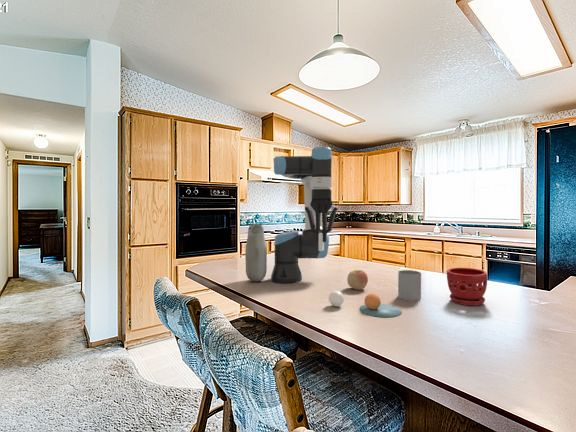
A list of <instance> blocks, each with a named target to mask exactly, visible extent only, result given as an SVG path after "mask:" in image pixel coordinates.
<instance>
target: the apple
mask: <svg viewBox="0 0 576 432" xmlns="http://www.w3.org/2000/svg"><path fill="white" fill-rule="evenodd" d="M346 279H347V284H348V286H349V287H350V288H351V289H354V290H357V291H361V290H364V289H365V288H366V287H367V284H368V281H369V277H368V274H367V273H366V272H365V271H364V270H361V269H355V270H351V271H349V273H348V274H347V278H346Z"/></svg>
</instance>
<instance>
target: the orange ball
mask: <svg viewBox="0 0 576 432" xmlns="http://www.w3.org/2000/svg"><path fill="white" fill-rule="evenodd" d="M363 302H364V305H366V307H367V308H369V309H371V310H375V309H377V308H379V306H380V304H382V303H381V298H380V297H379V295H378V294H375V293H369V294H367V295H366V296H365V298H364V301H363Z"/></svg>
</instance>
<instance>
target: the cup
mask: <svg viewBox="0 0 576 432" xmlns="http://www.w3.org/2000/svg"><path fill="white" fill-rule="evenodd" d="M397 275H398V276H397V277H398V278H397V280H398V281H397V282H398V283H397V287H398V288H397V292H398V293H397V297H398V298H399V299H401V300H406V301H412V302H413V301H416V302H417V301H420V300H421V299H422V273H421V271H417V270H408V269H406V270H405V269H401V270H399V271H398V272H397Z"/></svg>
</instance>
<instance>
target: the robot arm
mask: <svg viewBox="0 0 576 432" xmlns="http://www.w3.org/2000/svg"><path fill="white" fill-rule="evenodd" d="M332 158H333V154H332V148H331V147H329V146H315V147H313V148H312V150H311V155H295V156H294V155H292V156H291V155H277V156H274V158H273V173H274V175H278V176H282V177H284V178H289V179H293V180H294V179H296V180H300V181H301V184H302V185H303V188H304V191H303V192H304V193H303V196H304V229H303V230H302V231H301V233H302V234H299V232H298V231H287V232H282V233H279V234H278V233H277V234H276V235H275V236H274V244H273V245H274V265H273V268H272V272H271V274H270V280H271V282H275V283H279V284H291V283H292V284H293V283H298V282H301V281H302V279H303V276H302V275H303V274H302V271H301V269H300V265H299V259H325V258H326V257H327V256H328V252H329V246H330V234H328V233H330V232H331V233H332V230H333V226H334V222H335V217H336V215H337V212H338V210H339V207H338V206H335V204H334V202H333V200H332V189H331V188H332V186H333V185H332V184H333V183H332V179H333V178H332V164H333V163H332V160H333V159H332ZM329 210H331V212H330V216H329V221H328V212H329Z"/></svg>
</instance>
